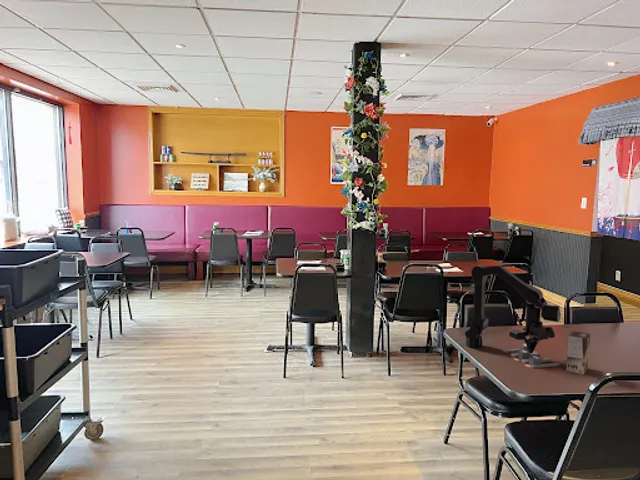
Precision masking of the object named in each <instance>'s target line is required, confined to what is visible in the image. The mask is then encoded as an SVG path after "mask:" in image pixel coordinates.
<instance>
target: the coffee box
mask: <svg viewBox="0 0 640 480" xmlns="http://www.w3.org/2000/svg"><path fill="white" fill-rule="evenodd" d="M590 340H591V333H587V332H584V331H583V332H582V331H575V330H574V331H572V332H571V333H570V334H569V335H568V340H567V341H568V342H567V343H568V344H567V357H566V369H565V370H566V372H569V373H575V374H579V375H584V374H585V373H586V372H587V371H588V369H589V354H590V343H591V342H590Z"/></svg>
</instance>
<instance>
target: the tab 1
mask: <svg viewBox="0 0 640 480" xmlns="http://www.w3.org/2000/svg"><path fill="white" fill-rule="evenodd" d="M519 346H520V348H519V349H520V351H522V350H524V351H528V352H529V350H528V348H527V345H526V343H523V344H520V345H519Z"/></svg>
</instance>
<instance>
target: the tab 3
mask: <svg viewBox="0 0 640 480" xmlns="http://www.w3.org/2000/svg"><path fill="white" fill-rule="evenodd" d="M542 358H543V357H540V356H530V357H529V363H528V365H530V366H532V365H539V364H542V363H543V362H542Z"/></svg>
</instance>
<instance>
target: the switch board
mask: <svg viewBox="0 0 640 480" xmlns="http://www.w3.org/2000/svg"><path fill="white" fill-rule="evenodd" d="M518 351H520V348H516V349H512V348H511V349H503V353H504V354H505V353H511V354H510V357H511V358H512V359H513V360H514V361H517V362H519V361H521V363H522V364H523V365H524V366H525V367H528V368H532V369H536V368H537V369H539V368H548V367H549V368H551V367H560V366H561V363H560V362H554V363H548V362H552V358H550V357H541V358H542V363H543V364H539V365H532V366H531V365H529V359H525V360H520V359H518ZM533 356H538V357H540V353H539V352H538V351H535V350H534V351H533V353H531V354H530V357H533Z"/></svg>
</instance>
